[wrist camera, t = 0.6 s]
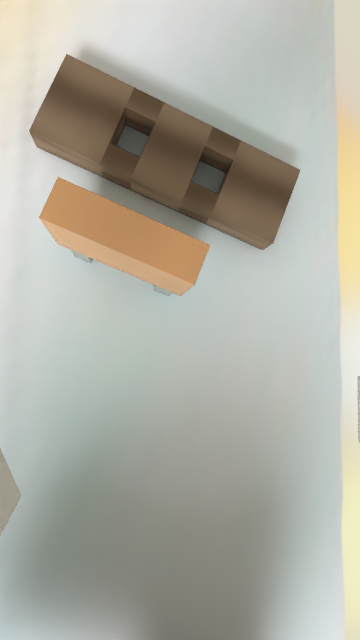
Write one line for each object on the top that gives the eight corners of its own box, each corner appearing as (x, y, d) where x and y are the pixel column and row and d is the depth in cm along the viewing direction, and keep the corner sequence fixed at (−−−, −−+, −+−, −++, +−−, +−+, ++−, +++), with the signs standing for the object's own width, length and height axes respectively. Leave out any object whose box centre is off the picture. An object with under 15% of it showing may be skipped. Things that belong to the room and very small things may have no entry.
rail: (262, 250, 35) (273, 243, 32) (36, 146, 32) (29, 130, 29) (288, 181, 36) (300, 170, 33) (71, 75, 33) (66, 53, 30)
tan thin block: (174, 301, 33) (194, 284, 23) (66, 255, 32) (38, 217, 22) (185, 273, 33) (210, 245, 23) (79, 227, 32) (58, 176, 22)
